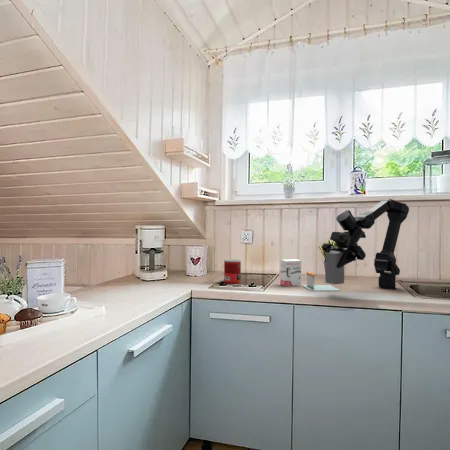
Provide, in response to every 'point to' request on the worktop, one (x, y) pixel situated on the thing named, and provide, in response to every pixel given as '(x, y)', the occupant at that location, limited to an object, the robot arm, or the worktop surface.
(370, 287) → the worktop surface
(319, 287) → the mat
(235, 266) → the canned food
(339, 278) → the gray rectangular block
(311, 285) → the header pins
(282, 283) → the ink box
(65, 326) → the worktop surface
